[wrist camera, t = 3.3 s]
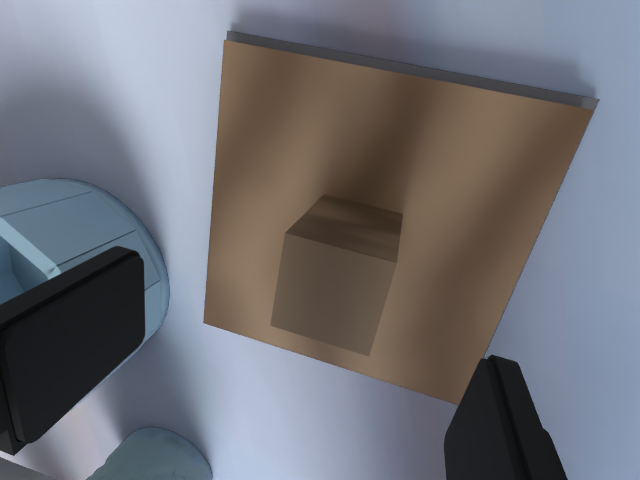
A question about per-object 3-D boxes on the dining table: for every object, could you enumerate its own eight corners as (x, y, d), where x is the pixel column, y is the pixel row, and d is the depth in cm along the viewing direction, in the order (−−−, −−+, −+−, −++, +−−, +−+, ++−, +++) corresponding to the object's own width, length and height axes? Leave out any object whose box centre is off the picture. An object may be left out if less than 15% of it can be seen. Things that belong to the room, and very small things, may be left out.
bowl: (171, 205, 23) (85, 242, 17) (167, 368, 28) (99, 440, 22) (-1, 158, 25) (-133, 176, 19) (24, 318, 30) (-74, 372, 24)
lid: (581, 109, 16) (699, 114, 9) (458, 390, 22) (476, 514, 15) (235, 43, 18) (133, 10, 12) (213, 313, 24) (137, 390, 18)
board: (595, 99, 16) (599, 99, 15) (463, 394, 22) (464, 399, 22) (230, 31, 18) (227, 30, 18) (208, 313, 25) (205, 317, 25)
